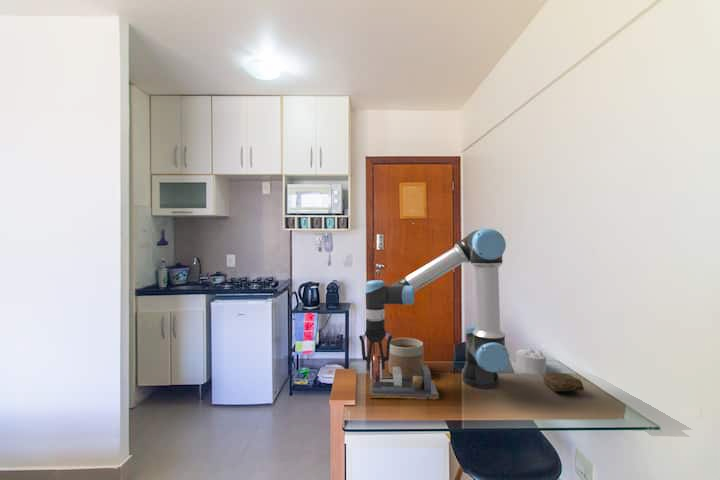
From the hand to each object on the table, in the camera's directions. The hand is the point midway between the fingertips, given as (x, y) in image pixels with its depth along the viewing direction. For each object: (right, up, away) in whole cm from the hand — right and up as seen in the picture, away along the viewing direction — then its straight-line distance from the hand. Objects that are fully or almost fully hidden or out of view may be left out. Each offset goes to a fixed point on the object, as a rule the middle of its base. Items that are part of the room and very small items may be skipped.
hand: (376, 377), depth 133 cm
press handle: (+4, -3, 0) cm, 5 cm away
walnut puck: (+17, -3, -1) cm, 17 cm away
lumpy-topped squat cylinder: (+74, -6, +22) cm, 78 cm away
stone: (+75, -5, 0) cm, 75 cm away
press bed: (+11, -5, -1) cm, 12 cm away
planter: (+15, -6, +19) cm, 25 cm away
